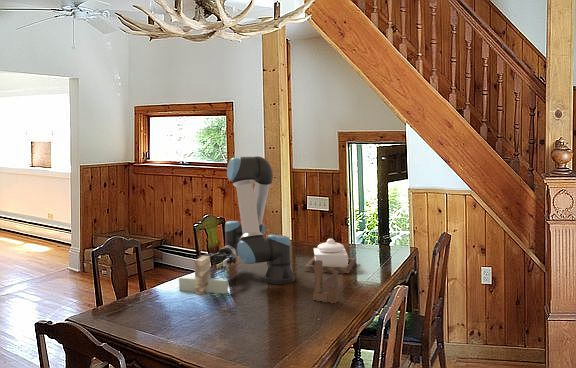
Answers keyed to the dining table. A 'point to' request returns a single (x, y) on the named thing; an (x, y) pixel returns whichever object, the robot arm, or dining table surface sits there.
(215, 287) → the notched rail
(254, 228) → the robot arm
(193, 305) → the dining table surface
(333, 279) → the wooden block
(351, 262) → the dish tray rim
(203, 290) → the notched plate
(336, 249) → the butter dish
